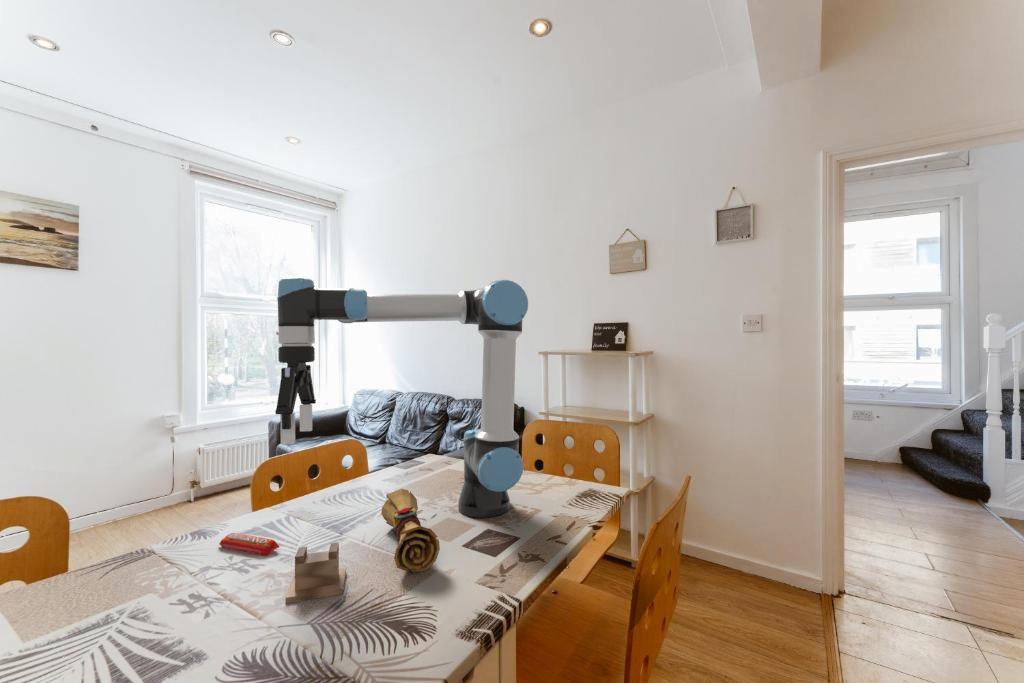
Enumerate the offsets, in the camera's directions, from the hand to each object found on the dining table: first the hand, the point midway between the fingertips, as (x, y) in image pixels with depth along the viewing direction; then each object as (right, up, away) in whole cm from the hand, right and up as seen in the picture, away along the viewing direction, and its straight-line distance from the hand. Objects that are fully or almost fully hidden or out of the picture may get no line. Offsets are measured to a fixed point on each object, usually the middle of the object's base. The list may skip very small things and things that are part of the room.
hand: (297, 437), depth 99 cm
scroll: (+25, -27, +3) cm, 37 cm away
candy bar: (-13, -28, +2) cm, 30 cm away
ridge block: (+11, -27, -14) cm, 32 cm away
